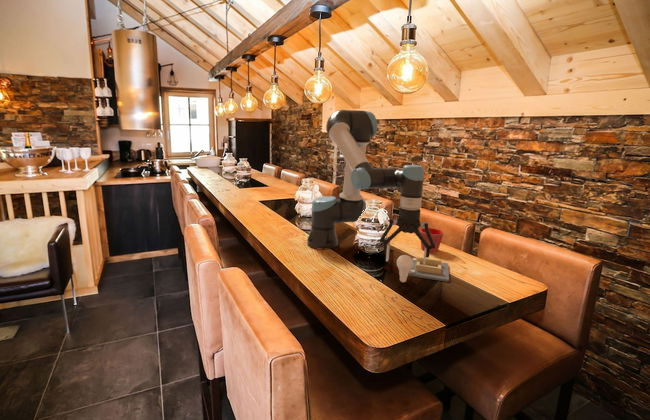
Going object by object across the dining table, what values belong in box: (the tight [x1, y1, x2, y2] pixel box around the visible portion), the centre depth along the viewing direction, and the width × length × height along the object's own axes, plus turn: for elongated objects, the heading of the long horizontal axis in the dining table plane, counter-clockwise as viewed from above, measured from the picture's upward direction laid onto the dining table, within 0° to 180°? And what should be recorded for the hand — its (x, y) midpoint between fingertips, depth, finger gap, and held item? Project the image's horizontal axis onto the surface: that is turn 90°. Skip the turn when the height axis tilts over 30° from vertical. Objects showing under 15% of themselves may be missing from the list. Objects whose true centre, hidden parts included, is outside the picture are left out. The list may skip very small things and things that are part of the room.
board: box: [407, 256, 450, 283], centre depth 149 cm, size 16×18×4 cm
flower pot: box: [419, 227, 444, 253], centre depth 173 cm, size 11×11×10 cm
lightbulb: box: [396, 254, 413, 283], centre depth 136 cm, size 6×6×11 cm
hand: (405, 262), depth 135 cm, fingers open, 13 cm apart
